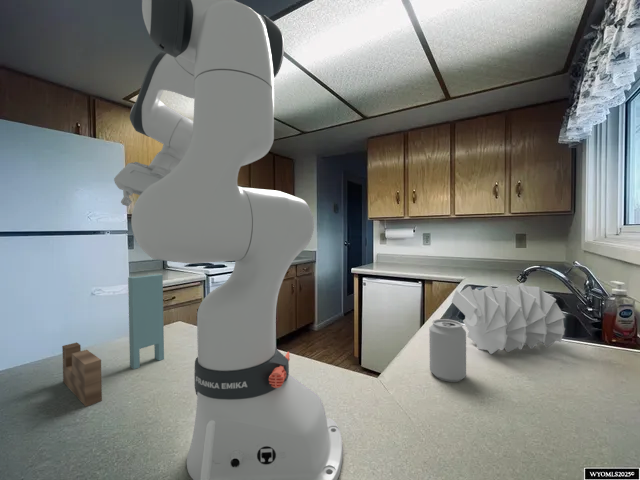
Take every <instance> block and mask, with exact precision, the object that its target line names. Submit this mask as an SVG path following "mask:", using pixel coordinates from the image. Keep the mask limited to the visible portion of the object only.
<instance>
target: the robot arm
mask: <svg viewBox="0 0 640 480" xmlns="http://www.w3.org/2000/svg"><path fill="white" fill-rule="evenodd" d="M141 11H142V18H143V21H144V26H145V27H146V30H147V32H148V37H149V39H150V40H151V42H152V43H153V44H154V46H155V47H156V48H157V49H159V50H160V51H161V52H159V53H157V55H156V56H154V58H153V59H152V60H151V62H150V64H149V66H148V68H147V70H146V73H145V75H144V78H143V80H142V83H141V87H140V88H139V89H140V90H139V92H138V95H137V98H136V100H135V102H134V103H133V106H132V107H131V110H130V113H129V114H130V115H129V121H130V123H131V125H132V127H133V128H134V130H135V132H137V133H139V134H142V135H143V136H146V137H149V138H151V139H153V140H155V141H156V142H159V143H161V144H163V145H162V148H161V150H160V151H159V152H157V154H155V156H154V158H153V159H152V160H151V162H150V163H149V165H148V164H144V163H141V162H138V161H134V162H128V163H127V164H126V165H125V166H124V167H123V168H122V169H121V170H120V171H119V172H118V173H117V174H116V175H115V177H113V181H114V184H115V186H116V187H117V188H118V189H119V190H122V191H123V197H122V198H121V201H120V203H121V205H123V206H126V207H130V204H132V202H133V201H132V199H130V196H132V195H133V194H135V195H138V197H137V199H136V201H135V203H134V206H133V208H132V212H131V219H130V220H131V221H130V222H131V223H130V224H131V231H132V233H133V236H134V239H135V240H136V242H137V244H138V246H139V247H140V249H142V250H143V252H144V253H145V254H146V255H147V256H148V257H150V258H151V259H153V260H158V261H167V262H173V263H181V264H204V263H205V264H206V263H221V262H223V263H224V262H234V267H233V271H232V272H231V275H230V276H229V277H228V279H227V280H226V281H224V283H223V284H221V285H219V286H218V287H216V288H215V289H213V290H211V291H210V292H209V293H208V294H207V295H206V296H205V297H204V298H203V300H202V301H201V302H200V305H199V307H198V309H197V312H196V315H197V317H196V326H197V327H196V331H197V335H196V336H197V340H196V341H197V356H196V358H195V360H194V374H193V375H194V391H195V394H196V408H195V419H194V427H193V433H192V438H191V443H190V445H189V446H190V448H189V449H188V453H187V457H186V468H187V472H188V474H189V476H190V478H191V479H192V480H338V478H339V477H340V474H341V470H342V464H343V457H344V445H343V438H342V437H343V436H342V432H341V429H340V427H339V425H338V424H337V422H336V421H335V420H334V419H333V418H330V417H327V414H326V410H325V406H324V404H323V401H322V398H321V396H319V394H318V393H316V392H315V391H313V390H312V389H311V388H310V387H308V386H306V385H305V384H304V383H303V382H301V381H299V380H298V379H296V378H295V377H294V376H293V375H291V374H290V364H289V363H290V351H287V352H286V354H285V355H284V354H282V353H281V352H280V351H279V350H278V348H277V347H276V323H277V322H276V321H277V319H276V318H277V303H278V297H279V294H280V290H281V287H282V284H283V281H284V279H285V276H286V274H287V272H288V269H290V267H291V265H292V263H293V262H294V260H295V259H296V258H297V257H298V256H299V255H300V254H301V252H303V251H304V250H305V249H306V248H307V247H308V245H309V244H310V242H311V239H312V237H313V235H314V234H313V233H314V228H315V227H314V225H315V224H314V223H315V221H314V216H313V213H312V210H311V208H310V206H309V205H308V203H307V202H306V200H304V199H302V198H301V197H298V196H294V195H292V194H289V193H286V192H283V191H281V190H274V189H264V188H255V187H254V188H253V187H245V186H239V185H238V184H239V183H238V178H239V172H240V171H241V170H240V169H241V167H244V166H246V165H250V164H252V163H254V162H256V161H258V160H260V159H262V158H263V157H265V156H266V155H267V154H268V153H269V151H270V150H271V148H272V146H273V143H274V140H275V89H274V88H275V87H274V85H275V84H274V83H275V82H274V81H275V80H274V79H276V77H277V75H278V74H279V71H280V70H281V67H282V64H283V60H284V53H285V41H284V39H285V38H284V36H283V33H282V30H281V28H280V27H279V25H278V24H277V23H275V22H274V21H273V20H272V19H270V18H269V17H268V16H266V15H265V14H259V13H257V12H256V11H255V10H254V9H252V8H251V7H249V6H248V5H246V4H243V3H242V2H240V1H239V2H238V1H237V0H141ZM164 91H168V92H172V93H175V94H178V95H182V96H184V97H185V98H189V99H194V101H193V103H194V105H193V120H192V119H190V118H189V117H187V116H186V115H183V114H181V113H179V112H178V111H176V110H174V109H173V108H171V107H169V106H168V105H166V104H165V103H164V102H162V100H161V97H162V95H163V93H164Z"/></svg>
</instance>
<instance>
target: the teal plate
mask: <svg viewBox="0 0 640 480" xmlns="http://www.w3.org/2000/svg"><path fill="white" fill-rule="evenodd" d="M163 276H164V275H163V274H158V273H157V274H149V275H139V276H131V277H127V278H128V279H127V281H128V282H127V284H128V285H127V286H128V288H127V289H128V290H127V291H128V335H129V338H128V339H129V341H128V342H129V367H130V368H131V369H133V370H136V369H139V368H141V367H140V366H141V364H140V363H141V362H140V361H141V360H140V358H141V357H140V356H141V355H140V353H141V351H140V350H141V349H144V348H148V347H151V346H153V347H154V349H153V350H154V359H155V360H157V361H162V360H165V347H164V346H165V343H164V342H165V340H164V339H165V337H164V335H165V334H164V333H165V331H164V285H163V283H164V281H163V280H164V279H163V278H164V277H163Z"/></svg>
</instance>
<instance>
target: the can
mask: <svg viewBox="0 0 640 480" xmlns="http://www.w3.org/2000/svg"><path fill="white" fill-rule="evenodd" d="M431 323H432V324H431V325H430V327H429V337H428V338H429V371H430V372H431V373H432V374H433V375H434V377H435V378H437V379H439V380H441V381H444V382H450V383H457V382H461V381H462V380H463V379H464V378H466V376H467V332H466V330H465V329H464V328H463V326H464V325H463V322H459V321H457V320H453V319H447V318H439V319H437V318H436V319H434V320H433V321H432V322H431Z"/></svg>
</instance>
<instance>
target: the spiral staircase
mask: <svg viewBox="0 0 640 480" xmlns="http://www.w3.org/2000/svg"><path fill="white" fill-rule="evenodd" d="M556 301H557V299H556V298H555V297H554V296H552V295H550V294H549V293H547V292H545V291H543V290H541V286H533V285H532V286H531V285H530V286H529V285H525V283H524V282H521V283H519V284H517V285H515V286H506V284H505V283H501V284H500V285H498V287H496V288H493V287H492V285H488V286H486V287H485V288H482V289H480V290H479V289H478V288H475V289H472V286H471V285H470V286H469V285H468V286H467V287H466V288H464V289H463V290H461V291H460V290H458V289H456V290H455V292H454V295H453V296H452V299H451V301H450V302H451V303H452V304H453V305H454V306H455V307H456V308H457V309H458V310H459V311H460V312H461V313H462V314H463V315H464V319H463V320H462V323H464V325H465V327H466V329H467V330H468V331H467V332H468V333H467V335H466V338H467V337H468V338H469V339H470V340H471V341H472V342H474V343H475V344H476V349H478V350H483V351H484V350H485V351H488V352H489V354H490V355H493V354H494V353H495V352H498V350H502V351H503V350H505V351H506V353H509V352H512V351H514V350H515V349H519V350H522V349H523V347H524V346H528V347H529V348H530V349H534V347H536V346H537V345H538V344H543V345H544V346H545V348H548V347H549V346H551V345H553V343H555V342H559V343H561V342H562V340H563V337H564V336H565V330H566V327H565V325H564V319H565V318H566V316H565V314H564V313H563V311H562V310H561V308H560V307H559V305H558V302H556Z"/></svg>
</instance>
